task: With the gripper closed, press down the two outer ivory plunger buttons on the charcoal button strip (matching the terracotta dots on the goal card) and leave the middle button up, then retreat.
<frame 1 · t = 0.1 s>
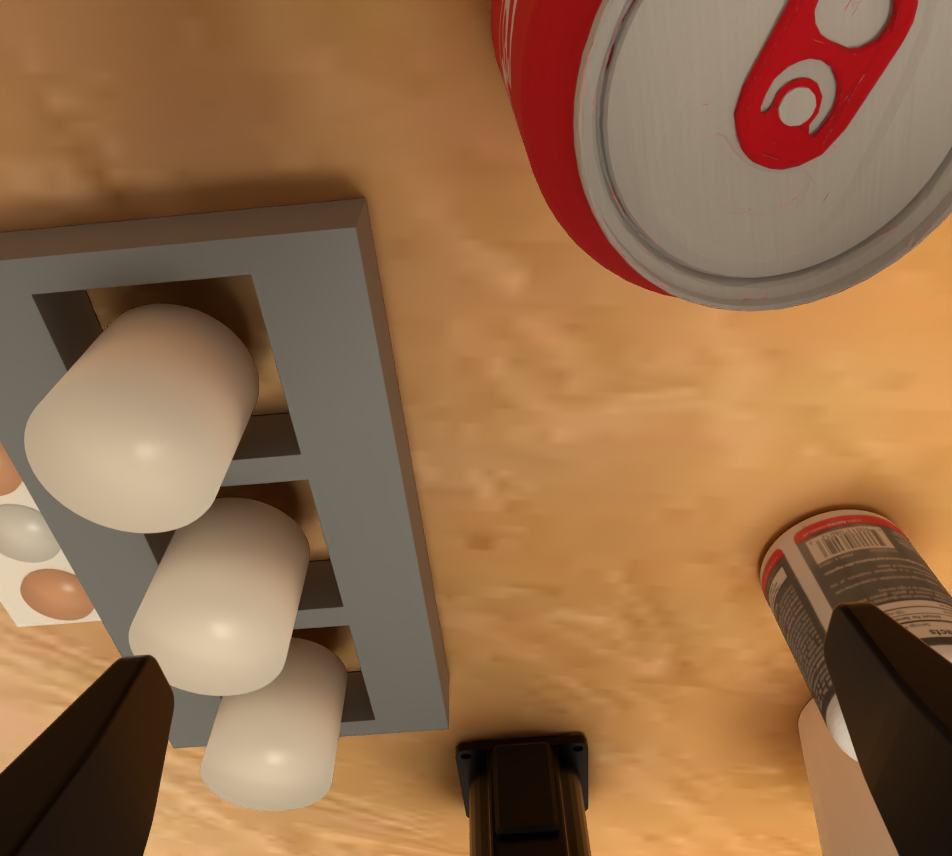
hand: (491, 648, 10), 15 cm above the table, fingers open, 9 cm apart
goal card: (28, 525, 27), on the table
cup: (867, 710, 35), on the table
button a: (279, 722, 27), point 4 cm above the table, slide at 0.0 cm
beverage can: (612, 11, 18), on the table
button b: (227, 594, 24), point 4 cm above the table, slide at 0.0 cm
button c: (154, 415, 20), point 4 cm above the table, slide at 0.0 cm
pill bottle: (825, 553, 29), on the table
button board: (257, 507, 27), on the table
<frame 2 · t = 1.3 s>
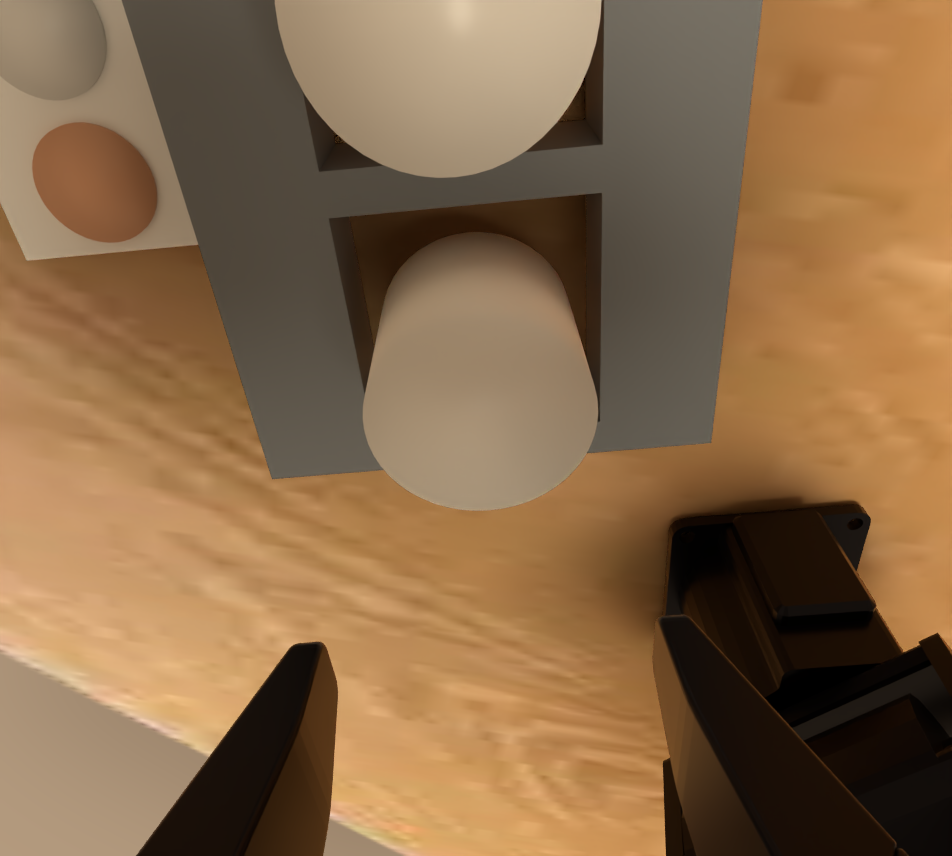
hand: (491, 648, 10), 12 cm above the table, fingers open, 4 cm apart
goal card: (47, 26, 16), on the table
button a: (478, 367, 16), point 4 cm above the table, slide at 0.0 cm
button b: (441, 0, 12), point 4 cm above the table, slide at 0.0 cm
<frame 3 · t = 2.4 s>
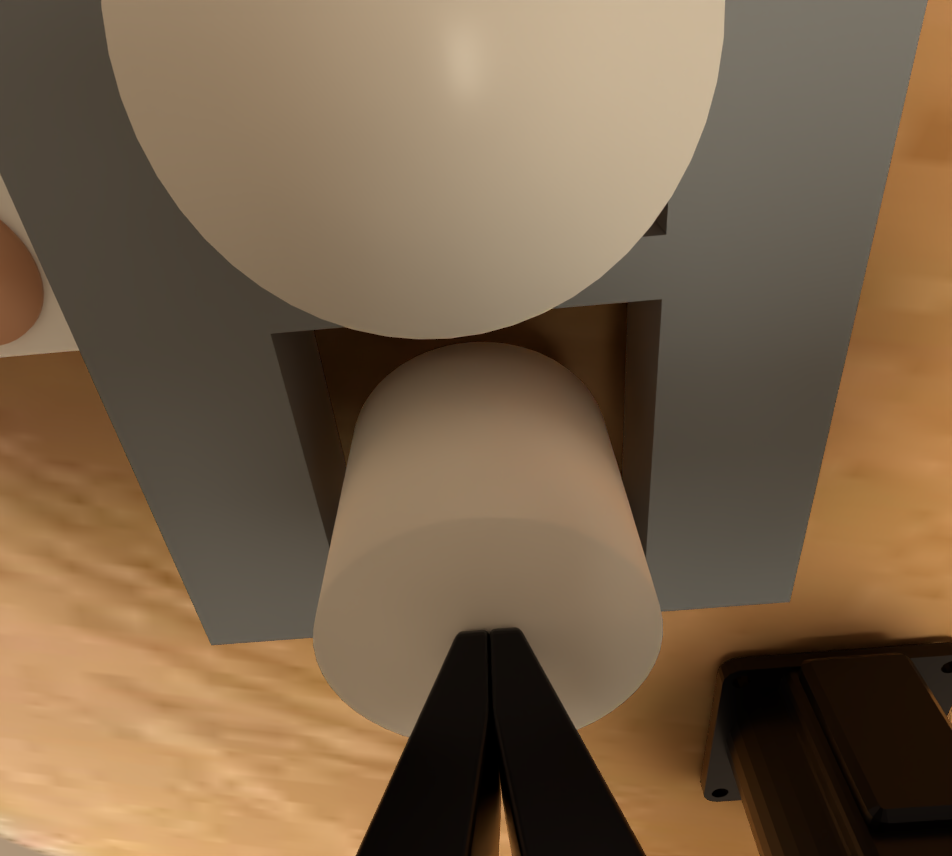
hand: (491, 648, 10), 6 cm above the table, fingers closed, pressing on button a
button a: (483, 536, 11), point 4 cm above the table, slide at 0.2 cm, touching gripper
button b: (427, 34, 7), point 4 cm above the table, slide at 0.0 cm
button board: (437, 1, 11), on the table
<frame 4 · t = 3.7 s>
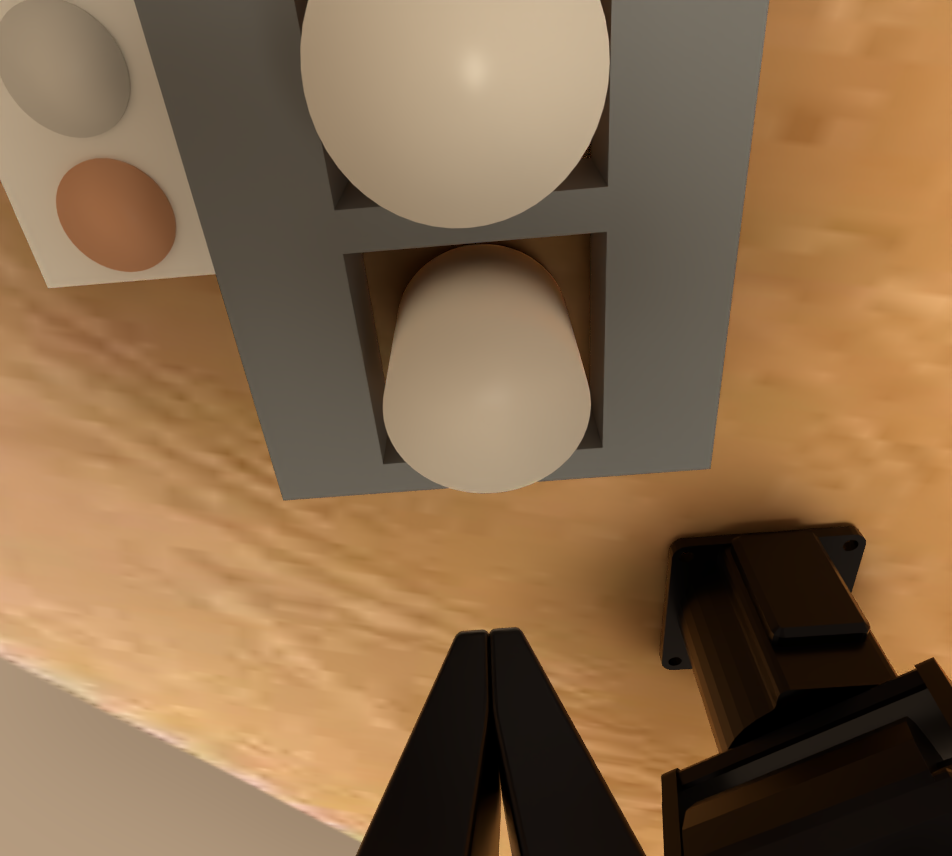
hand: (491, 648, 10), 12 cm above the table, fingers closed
goal card: (73, 67, 17), on the table
button a: (484, 365, 18), point 3 cm above the table, slide at 1.6 cm
button b: (456, 57, 13), point 4 cm above the table, slide at 0.0 cm
button board: (457, 31, 16), on the table
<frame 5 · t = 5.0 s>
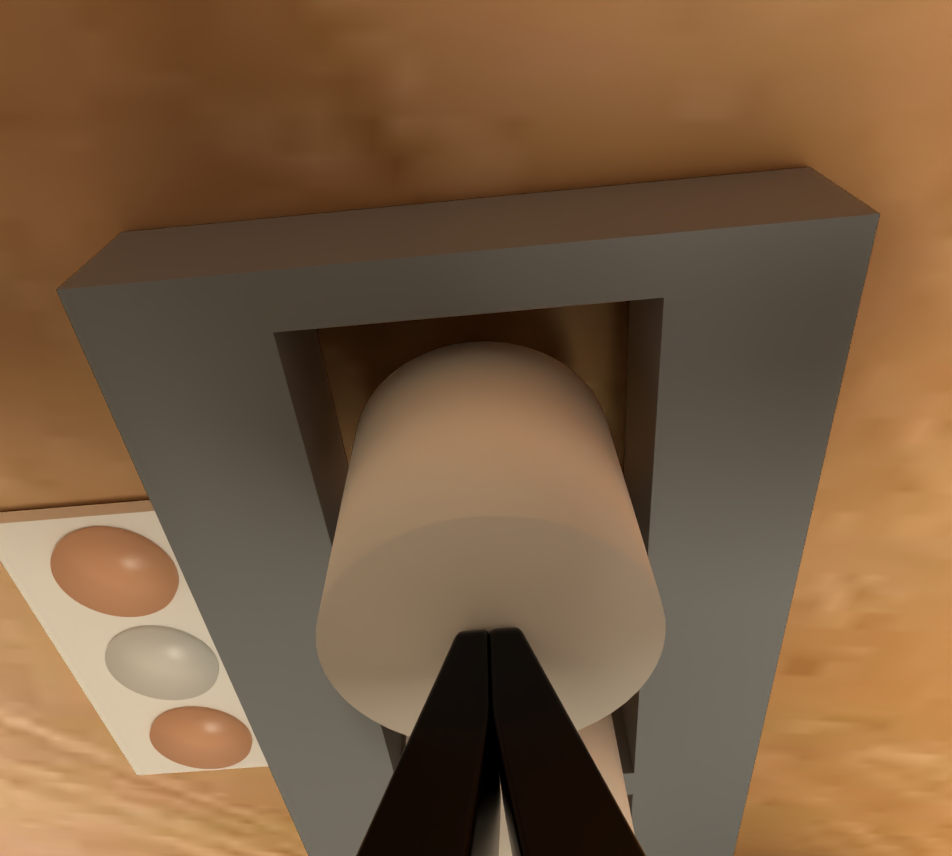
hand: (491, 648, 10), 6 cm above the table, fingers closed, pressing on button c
goal card: (169, 649, 19), on the table
button b: (513, 787, 15), point 4 cm above the table, slide at 0.0 cm
button c: (486, 535, 11), point 4 cm above the table, slide at 0.2 cm, touching gripper
button board: (502, 624, 19), on the table
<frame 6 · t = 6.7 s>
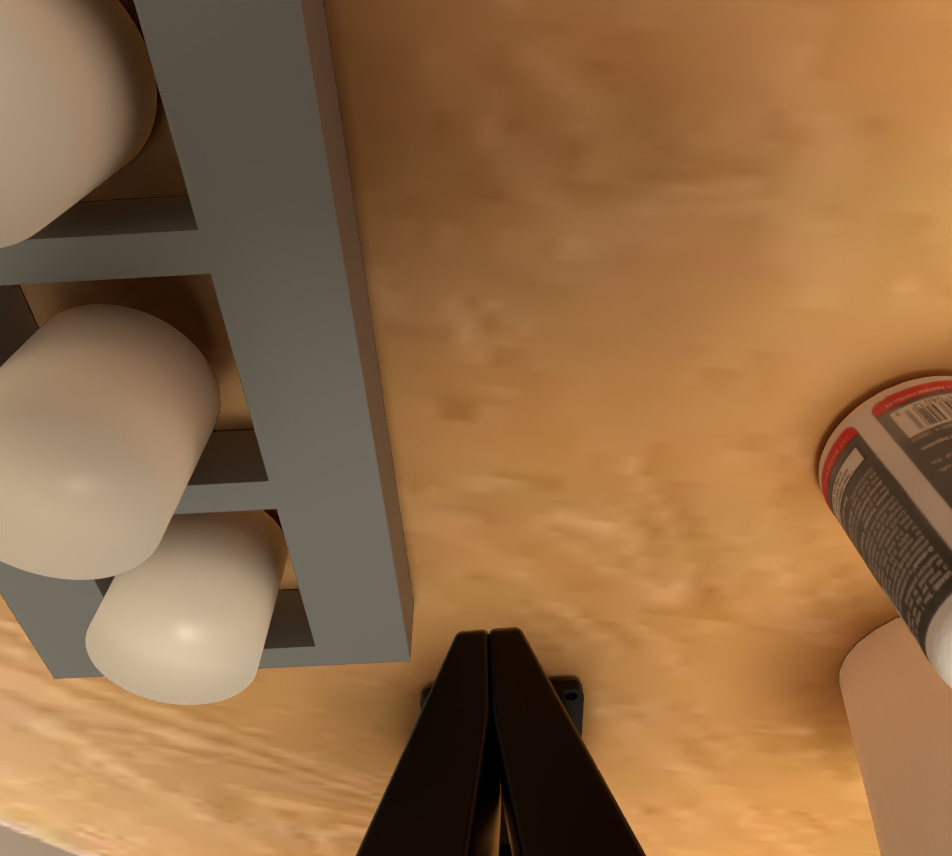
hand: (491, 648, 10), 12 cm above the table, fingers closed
cup: (924, 657, 29), on the table
button a: (196, 595, 22), point 3 cm above the table, slide at 1.6 cm
button b: (91, 438, 16), point 4 cm above the table, slide at 0.0 cm
pill bottle: (903, 442, 23), on the table
button board: (156, 345, 20), on the table
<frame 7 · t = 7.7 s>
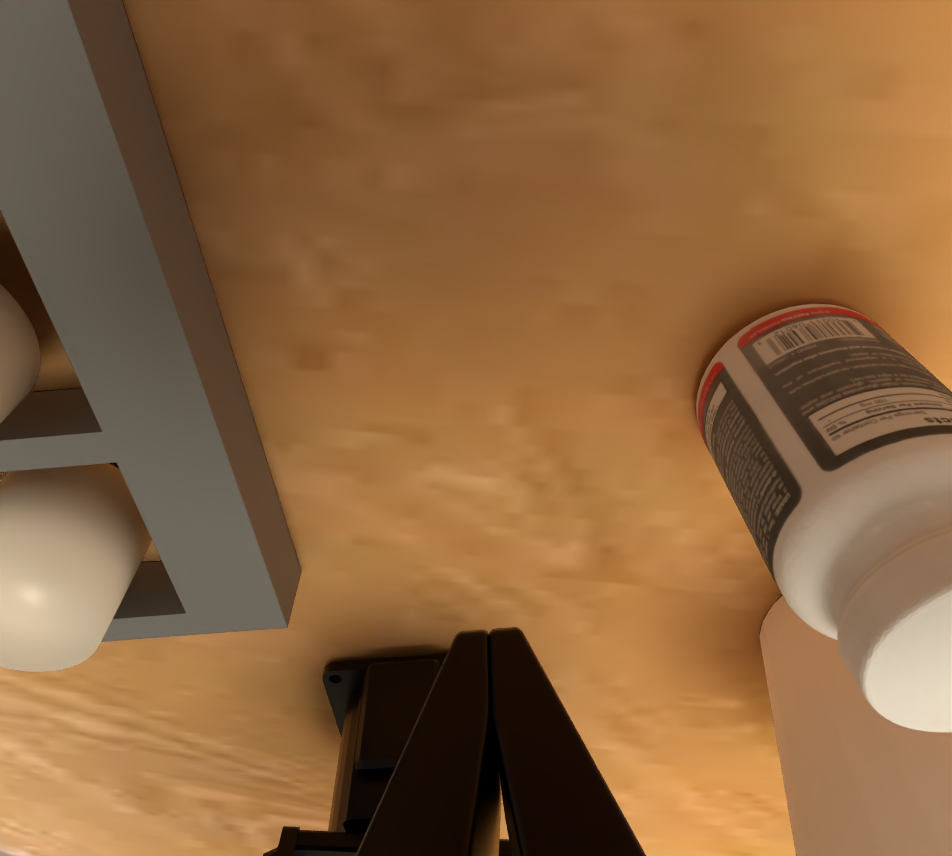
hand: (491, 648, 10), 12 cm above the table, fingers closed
cup: (847, 619, 28), on the table
button a: (49, 559, 21), point 3 cm above the table, slide at 1.6 cm
pill bottle: (785, 381, 22), on the table
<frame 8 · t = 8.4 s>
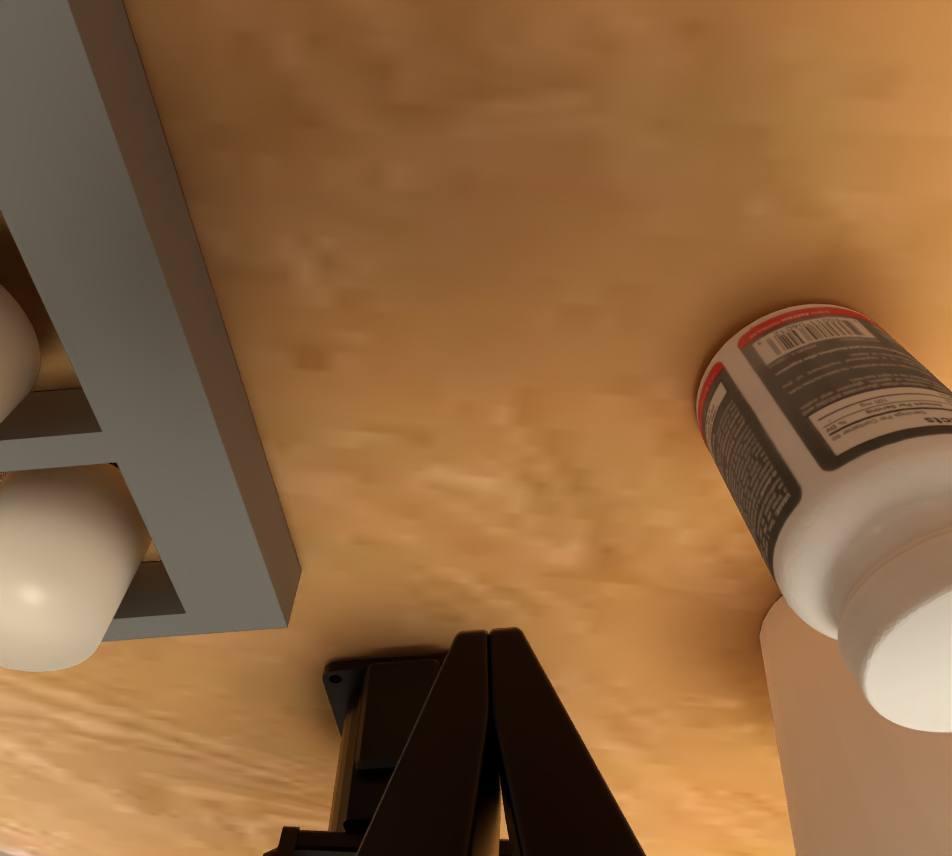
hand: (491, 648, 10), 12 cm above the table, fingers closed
cup: (847, 619, 28), on the table
button a: (49, 559, 21), point 3 cm above the table, slide at 1.6 cm
pill bottle: (785, 381, 22), on the table
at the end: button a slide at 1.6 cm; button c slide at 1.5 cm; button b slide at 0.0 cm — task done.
